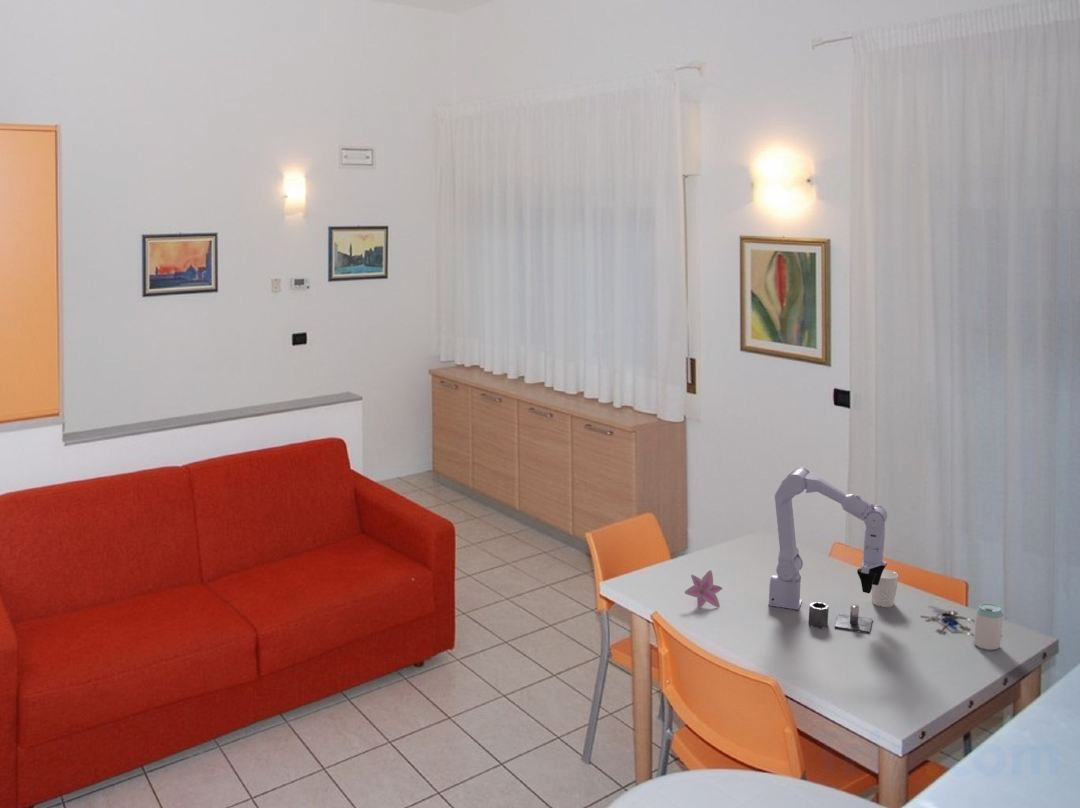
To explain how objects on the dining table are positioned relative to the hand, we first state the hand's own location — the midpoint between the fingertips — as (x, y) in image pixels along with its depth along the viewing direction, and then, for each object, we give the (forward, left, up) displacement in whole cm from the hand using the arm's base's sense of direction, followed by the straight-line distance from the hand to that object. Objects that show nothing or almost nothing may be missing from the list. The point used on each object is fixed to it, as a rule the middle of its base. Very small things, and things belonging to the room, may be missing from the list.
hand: (870, 588), depth 308 cm
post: (-4, -6, -10) cm, 12 cm away
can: (+33, -7, -10) cm, 35 cm away
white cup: (+3, +14, -10) cm, 18 cm away
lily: (-50, -8, -10) cm, 51 cm away
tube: (-14, -10, -10) cm, 20 cm away
